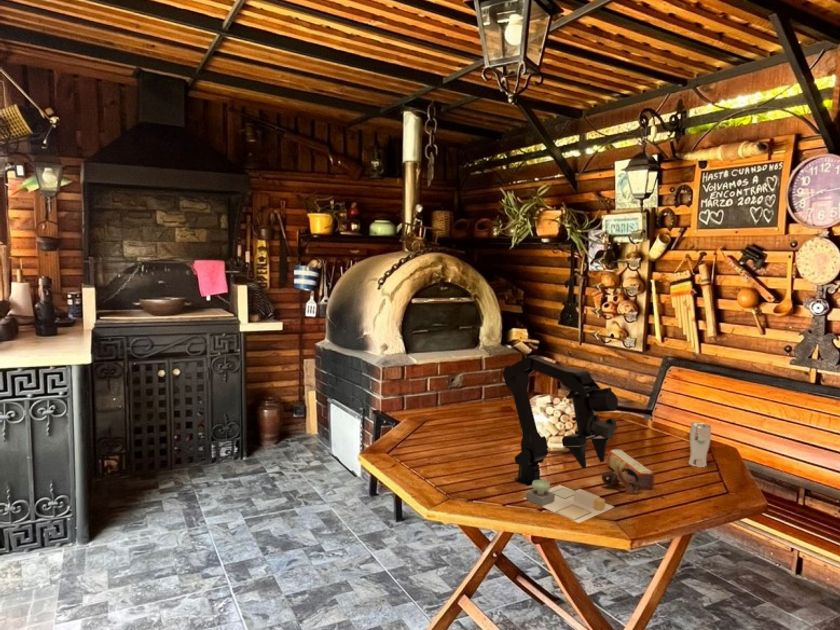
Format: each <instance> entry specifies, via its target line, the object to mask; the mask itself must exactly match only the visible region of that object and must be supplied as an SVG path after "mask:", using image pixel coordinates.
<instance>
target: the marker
mask: <svg viewBox="0 0 840 630" xmlns="http://www.w3.org/2000/svg"><path fill="white" fill-rule="evenodd" d="M573 501H576V502H578V503H581V504H583V505H585V506H588V507H590V508H593V509H594V508H595V509H597V510H602V509H604V508H605V503H606V499H605V498H602V497H600V496H599V495H596V494H594V493H592V492H590V491H586V490H584V489H582V488H579V489H575V490H574V500H573Z"/></svg>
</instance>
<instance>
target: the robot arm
mask: <svg viewBox="0 0 840 630" xmlns="http://www.w3.org/2000/svg"><path fill="white" fill-rule="evenodd" d="M534 371H535V372H538V373H540V374H543V375H545V376H547V377H550V378H552V379H554V380H557V381H558V382H560V383H561V385H562V386H563V387H565V388H566V389H568V390H569V393H568V394H567V395H566V396H565V399H566V400H569V399H570V400H572V405H573V411H574V417H572V422H575V423H576V429H577V430H575V431H574V434H573V433H572V434H567V435H564V436H563V437H562V438H561V442H562V446H563V447H565V448H566V449H568V451H569V452H571V454H572V455H573V456H574V459H575V460H576V461H577V462H578V464H579V466H580V467H581V468H582V469H586V468H587V461H586V460H587V459H586V449H587V448H588V444H587V441H588V440H591V443H592V445H593V447H594V451H595V453H596V455H597V458H598V460H599V462H601V463H604V462H605V457H606V456H605V455H606V451H607V445H608V443H609V442H610V440H612V438H613V437H614V436H615V431H617V430H618V427H617V421H616V419H614V418H611V417H610V418H607V419H606V420H601V419H600V416H599V414H595V413H604V412H606V413H607V412H615V411H616V410H617V409H618V406H619V398H618V397H617V396H616V394H615V392H614V391H612V387H605V388H601V387H600V385H598V384H597V382H596V381H595V380H594V379H593V377H592V375H591V372H589V371H588V370H584V369H579V368H570V367H565V366H562V365H560V364H557V363H554V362H552V361H549V360H547V359H545V358H542V357H540V356H539V355H536V354H535V355H528V356H526V357H524V358H522V359H521V360H519V361H517V362H515V363H513V364H512V365H507V366H505V367H504V368H503V371H502V378H503V380H504V383H505V385H506V387H507V388H508V389H509V390H510V392H511V393H512V396H513V401H514V405H515V408H516V413H517V416H518V420H519V425H520V428H521V429H520V430H521V434H522V437H521V442H520V452H519V453H517V454H516V455H515V456H514V461H515V464H516V465H518V473H517V477H515V478H514V481H517V482H519V483H520V484H524V485H526V486H531V485H532V482H533V481H534V480H541V479H540V478H541V470H540V464H541V463H543V462H544V460H545V459H546V458H547V456H548V454H549V451H548V449H550V448H549V446H548V443H547V437H546V436H541V434H540V433H539V432H538V429H537V424H536V420H535V416H534V412H533V407H532V405H531V401H530V396H529V391H528V386H529V382H530V374H532V373H533V372H534Z"/></svg>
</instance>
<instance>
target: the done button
mask: <svg viewBox="0 0 840 630" xmlns="http://www.w3.org/2000/svg"><path fill="white" fill-rule="evenodd" d="M550 487H551V483H550V482H549V481H547V480H543V479H540V480H534V481H533V482H532V486H531V488H532V490H533V489H535V490H537V494H538V495H541V496H542V495H544V491H548V490H550Z"/></svg>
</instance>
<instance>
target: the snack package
mask: <svg viewBox="0 0 840 630" xmlns="http://www.w3.org/2000/svg"><path fill="white" fill-rule="evenodd" d="M606 457H607V458H606V464H607V466H608V467H609V468H611V470H613V471H615V470H618V469H620V468H622V467H626V468H629V469H631V470H633V471H634V472H636V474H637V475H638V476H639V478H640V484H639V488H638V490H640V489H645V490H651V489H652V488H653V486H654V480H655V475H654V474H655V473H654V472H653V471H652V470H650V469H649V468H647V467H645V466H644V465H643V464H641V462H638V460H636V459H634V458H633V457H632V456H630V455H628V454H627V453H626V452H624V451H623V450H622V449H616V448H615V449H610V451H609V452H608V454H607V456H606ZM622 474H623V476H624V477H625V478H626V479H627V480H628V481H629V482H630V483H631V484H632V483H637V482H636V481H635V477H634V476H631V475H628V474H627V471H624V472H622ZM630 483H629V484H630Z"/></svg>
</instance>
